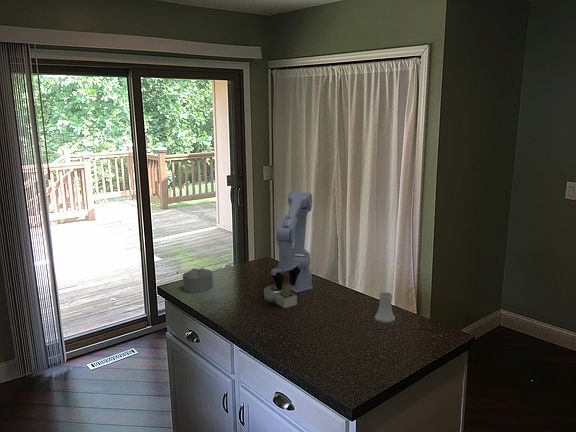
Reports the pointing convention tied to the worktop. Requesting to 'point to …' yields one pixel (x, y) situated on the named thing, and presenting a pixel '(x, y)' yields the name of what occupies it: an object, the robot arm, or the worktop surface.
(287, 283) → the key peg
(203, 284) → the lumpy-topped squat cylinder
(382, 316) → the vase
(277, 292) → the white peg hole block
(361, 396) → the worktop surface
